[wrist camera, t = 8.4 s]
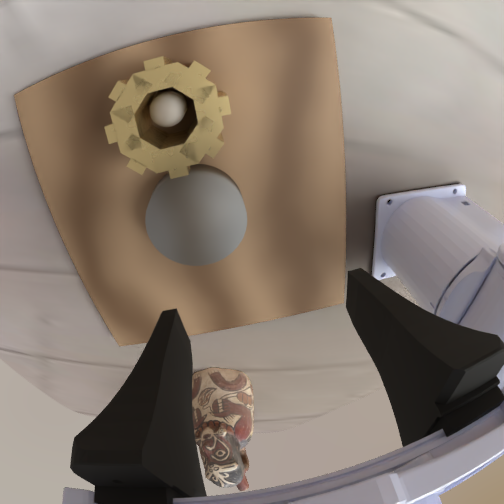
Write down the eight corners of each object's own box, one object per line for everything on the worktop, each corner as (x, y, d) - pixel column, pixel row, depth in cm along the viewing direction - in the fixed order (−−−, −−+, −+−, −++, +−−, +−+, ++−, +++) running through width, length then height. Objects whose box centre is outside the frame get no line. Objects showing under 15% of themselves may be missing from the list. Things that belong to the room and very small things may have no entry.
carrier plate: (324, 20, 15) (355, 9, 12) (339, 294, 27) (358, 330, 24) (22, 92, 15) (-16, 103, 11) (121, 336, 27) (113, 376, 23)
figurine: (233, 358, 30) (250, 471, 20) (261, 390, 34) (281, 485, 24) (173, 380, 31) (174, 485, 21) (207, 408, 35) (216, 499, 25)
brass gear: (215, 50, 15) (218, 44, 12) (232, 145, 18) (240, 164, 15) (114, 76, 15) (92, 77, 11) (137, 167, 18) (122, 191, 15)
